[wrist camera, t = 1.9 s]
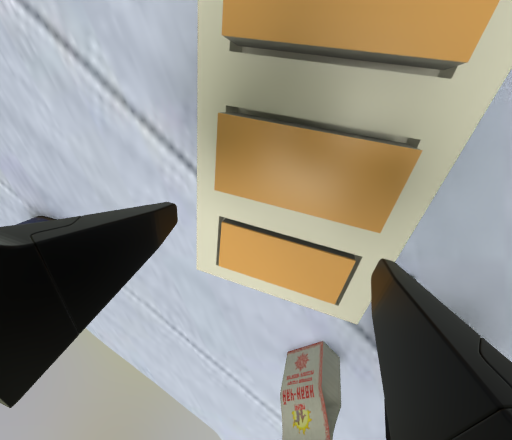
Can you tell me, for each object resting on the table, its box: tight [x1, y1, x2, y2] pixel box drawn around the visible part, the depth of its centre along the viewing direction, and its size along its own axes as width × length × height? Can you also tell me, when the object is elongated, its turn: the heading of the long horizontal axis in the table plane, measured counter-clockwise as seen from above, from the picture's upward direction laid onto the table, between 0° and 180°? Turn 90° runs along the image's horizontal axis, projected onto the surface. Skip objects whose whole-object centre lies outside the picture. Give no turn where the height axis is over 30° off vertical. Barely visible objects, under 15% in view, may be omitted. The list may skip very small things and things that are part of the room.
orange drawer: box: [214, 112, 422, 233], centre depth 16 cm, size 13×6×3 cm, turn 82°
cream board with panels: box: [197, 0, 512, 324], centre depth 18 cm, size 23×30×3 cm
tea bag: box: [280, 341, 341, 440], centre depth 28 cm, size 4×7×10 cm, turn 137°
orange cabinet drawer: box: [219, 218, 356, 305], centre depth 23 cm, size 13×6×3 cm, turn 82°
